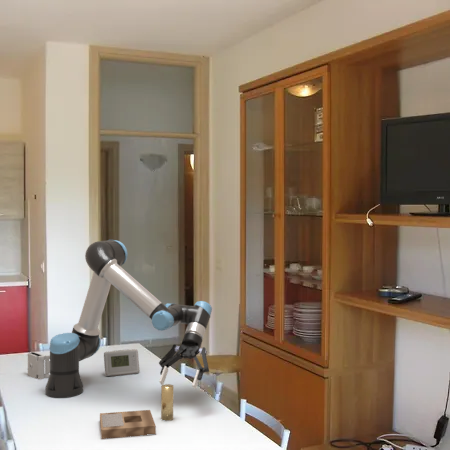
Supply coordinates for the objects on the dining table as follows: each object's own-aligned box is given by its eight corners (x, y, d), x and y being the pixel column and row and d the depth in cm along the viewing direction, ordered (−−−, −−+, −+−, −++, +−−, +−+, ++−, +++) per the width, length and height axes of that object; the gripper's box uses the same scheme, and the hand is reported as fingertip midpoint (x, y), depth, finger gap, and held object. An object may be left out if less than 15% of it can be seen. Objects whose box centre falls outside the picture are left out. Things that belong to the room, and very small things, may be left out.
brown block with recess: (101, 438, 197) (101, 429, 197) (99, 421, 213) (99, 412, 213) (155, 434, 202) (155, 425, 202) (150, 417, 217) (150, 409, 217)
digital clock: (103, 377, 267) (104, 354, 267) (103, 372, 276) (103, 349, 276) (140, 375, 271) (140, 352, 270) (138, 370, 280) (138, 347, 279)
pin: (161, 421, 214) (162, 388, 214) (160, 417, 218) (160, 384, 218) (174, 420, 215) (174, 387, 215) (172, 416, 219) (172, 383, 219)
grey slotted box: (54, 378, 266) (54, 355, 265) (45, 381, 261) (45, 358, 260) (32, 373, 273) (32, 351, 272) (23, 376, 268) (23, 354, 268)
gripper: (225, 344, 233) (211, 394, 220) (168, 339, 242) (151, 386, 229) (220, 334, 228) (205, 383, 215) (162, 329, 237) (144, 376, 224)
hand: (177, 385), depth 222 cm, fingers open, 13 cm apart
